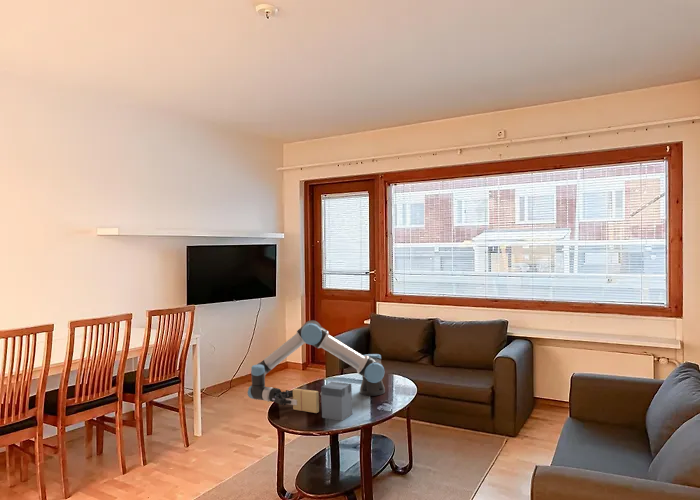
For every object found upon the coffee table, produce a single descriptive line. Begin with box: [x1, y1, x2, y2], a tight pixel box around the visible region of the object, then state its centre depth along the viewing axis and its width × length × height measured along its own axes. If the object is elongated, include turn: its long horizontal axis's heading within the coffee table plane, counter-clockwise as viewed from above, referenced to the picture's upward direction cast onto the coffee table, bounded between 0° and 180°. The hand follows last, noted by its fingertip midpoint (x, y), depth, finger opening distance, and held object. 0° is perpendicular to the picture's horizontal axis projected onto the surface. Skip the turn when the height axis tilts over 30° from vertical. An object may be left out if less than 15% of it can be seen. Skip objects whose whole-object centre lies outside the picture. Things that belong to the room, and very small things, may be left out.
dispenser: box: [319, 381, 353, 421], centre depth 263 cm, size 13×11×16 cm
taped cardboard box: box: [292, 387, 320, 414], centre depth 272 cm, size 15×3×11 cm, turn 62°
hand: (303, 398), depth 272 cm, fingers open, 13 cm apart
